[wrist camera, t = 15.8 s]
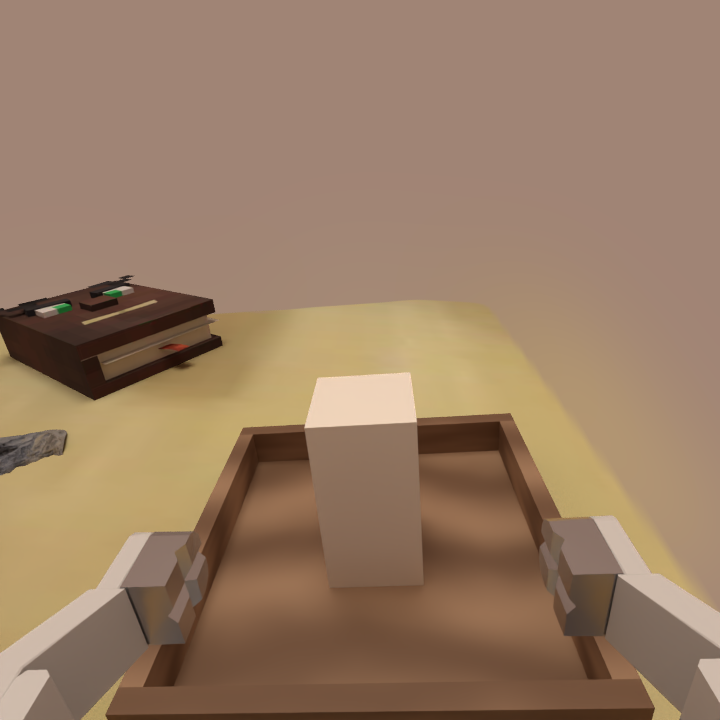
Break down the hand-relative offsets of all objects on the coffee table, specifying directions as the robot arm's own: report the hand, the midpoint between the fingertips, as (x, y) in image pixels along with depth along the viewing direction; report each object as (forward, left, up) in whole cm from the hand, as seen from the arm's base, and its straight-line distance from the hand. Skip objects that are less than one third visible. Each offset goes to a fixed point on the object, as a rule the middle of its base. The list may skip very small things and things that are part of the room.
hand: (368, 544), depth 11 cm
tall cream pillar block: (+9, +7, -13) cm, 17 cm away
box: (+9, +7, -14) cm, 18 cm away
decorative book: (+19, +58, -14) cm, 63 cm away
